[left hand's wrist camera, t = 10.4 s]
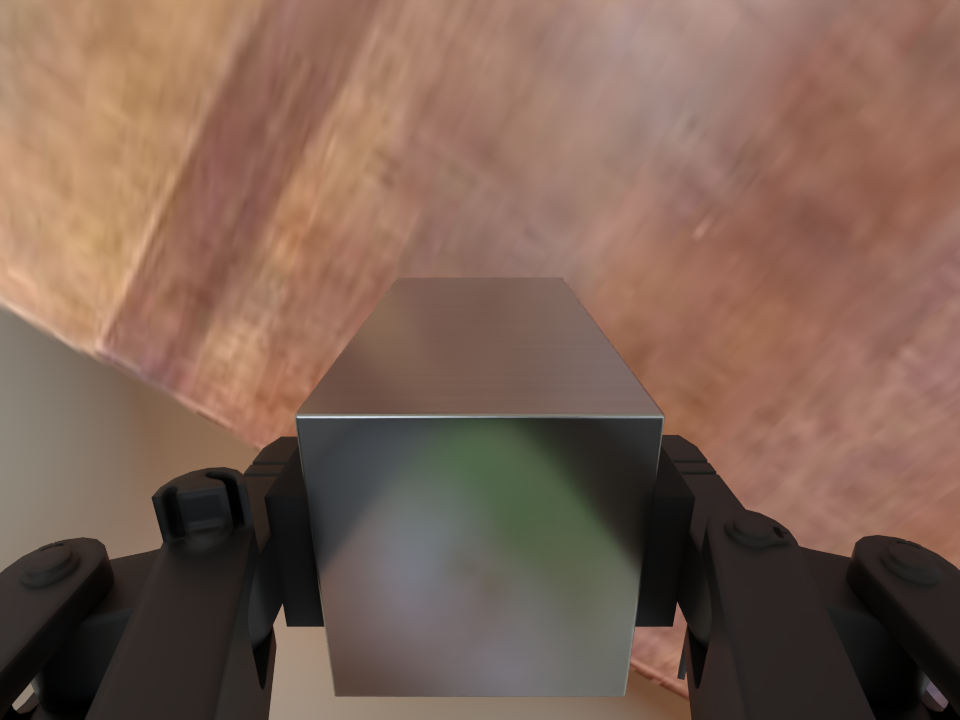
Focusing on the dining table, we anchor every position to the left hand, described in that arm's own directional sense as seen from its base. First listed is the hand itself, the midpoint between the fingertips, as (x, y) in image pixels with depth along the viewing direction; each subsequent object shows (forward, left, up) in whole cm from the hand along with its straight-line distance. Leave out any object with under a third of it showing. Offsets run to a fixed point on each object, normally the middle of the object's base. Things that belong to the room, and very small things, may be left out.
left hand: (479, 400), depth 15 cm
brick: (0, 0, -3) cm, 3 cm away
